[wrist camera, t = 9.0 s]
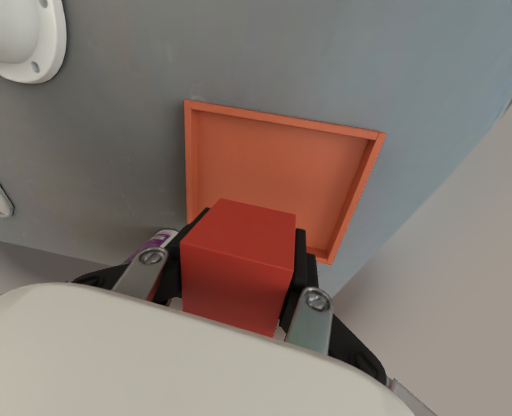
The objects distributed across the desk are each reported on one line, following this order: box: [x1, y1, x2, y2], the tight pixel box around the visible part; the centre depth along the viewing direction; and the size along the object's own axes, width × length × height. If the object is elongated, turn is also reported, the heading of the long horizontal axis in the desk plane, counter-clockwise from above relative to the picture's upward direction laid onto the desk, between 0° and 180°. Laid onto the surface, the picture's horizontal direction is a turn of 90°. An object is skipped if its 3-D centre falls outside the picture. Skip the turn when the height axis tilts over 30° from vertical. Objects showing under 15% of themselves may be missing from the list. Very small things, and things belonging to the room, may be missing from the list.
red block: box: [180, 198, 296, 338], centre depth 11 cm, size 4×4×4 cm
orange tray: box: [184, 100, 387, 265], centre depth 20 cm, size 16×13×2 cm
